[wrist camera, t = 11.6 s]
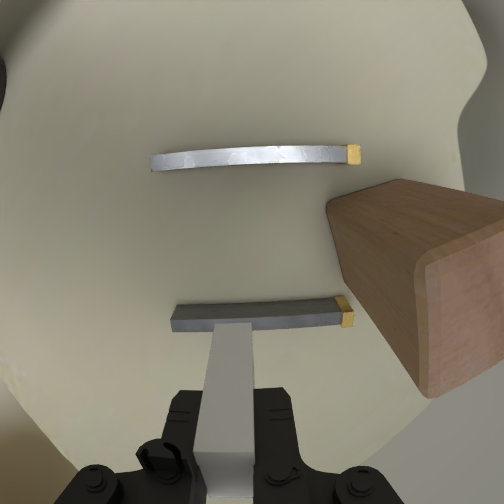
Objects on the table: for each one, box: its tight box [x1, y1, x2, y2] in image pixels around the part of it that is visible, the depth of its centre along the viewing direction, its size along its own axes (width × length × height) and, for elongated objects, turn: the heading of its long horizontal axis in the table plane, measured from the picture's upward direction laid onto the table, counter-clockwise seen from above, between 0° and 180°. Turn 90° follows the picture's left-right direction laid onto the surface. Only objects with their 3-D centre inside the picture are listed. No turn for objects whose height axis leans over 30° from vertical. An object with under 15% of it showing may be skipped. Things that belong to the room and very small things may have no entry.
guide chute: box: [150, 144, 361, 332], centre depth 30 cm, size 18×19×4 cm
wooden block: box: [326, 179, 504, 399], centre depth 23 cm, size 10×10×20 cm
